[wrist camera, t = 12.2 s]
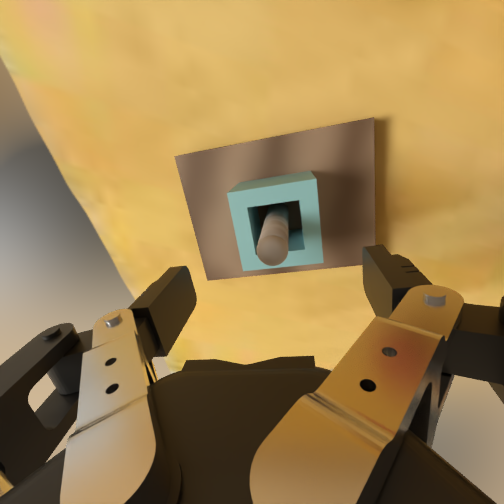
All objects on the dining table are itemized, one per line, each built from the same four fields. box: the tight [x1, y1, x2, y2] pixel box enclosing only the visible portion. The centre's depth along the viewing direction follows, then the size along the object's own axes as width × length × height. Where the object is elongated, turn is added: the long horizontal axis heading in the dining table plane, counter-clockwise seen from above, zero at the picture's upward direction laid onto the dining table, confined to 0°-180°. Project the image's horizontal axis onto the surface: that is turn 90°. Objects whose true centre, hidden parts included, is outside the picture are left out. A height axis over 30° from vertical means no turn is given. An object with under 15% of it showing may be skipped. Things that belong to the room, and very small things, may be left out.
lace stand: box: [175, 118, 375, 281], centre depth 20 cm, size 16×12×11 cm
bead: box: [227, 171, 324, 271], centre depth 21 cm, size 6×6×5 cm
